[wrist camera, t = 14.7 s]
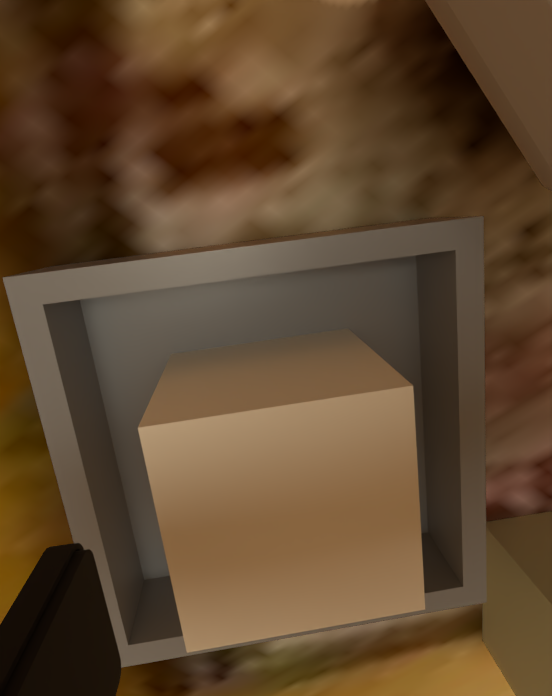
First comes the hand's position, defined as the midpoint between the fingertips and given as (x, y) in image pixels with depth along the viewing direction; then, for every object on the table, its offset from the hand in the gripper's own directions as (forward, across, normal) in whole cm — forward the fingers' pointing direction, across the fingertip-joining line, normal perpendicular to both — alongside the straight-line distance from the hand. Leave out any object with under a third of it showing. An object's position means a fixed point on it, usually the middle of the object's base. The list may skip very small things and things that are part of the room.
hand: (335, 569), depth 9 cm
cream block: (+8, +1, 0) cm, 8 cm away
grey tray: (+8, +1, 0) cm, 8 cm away
